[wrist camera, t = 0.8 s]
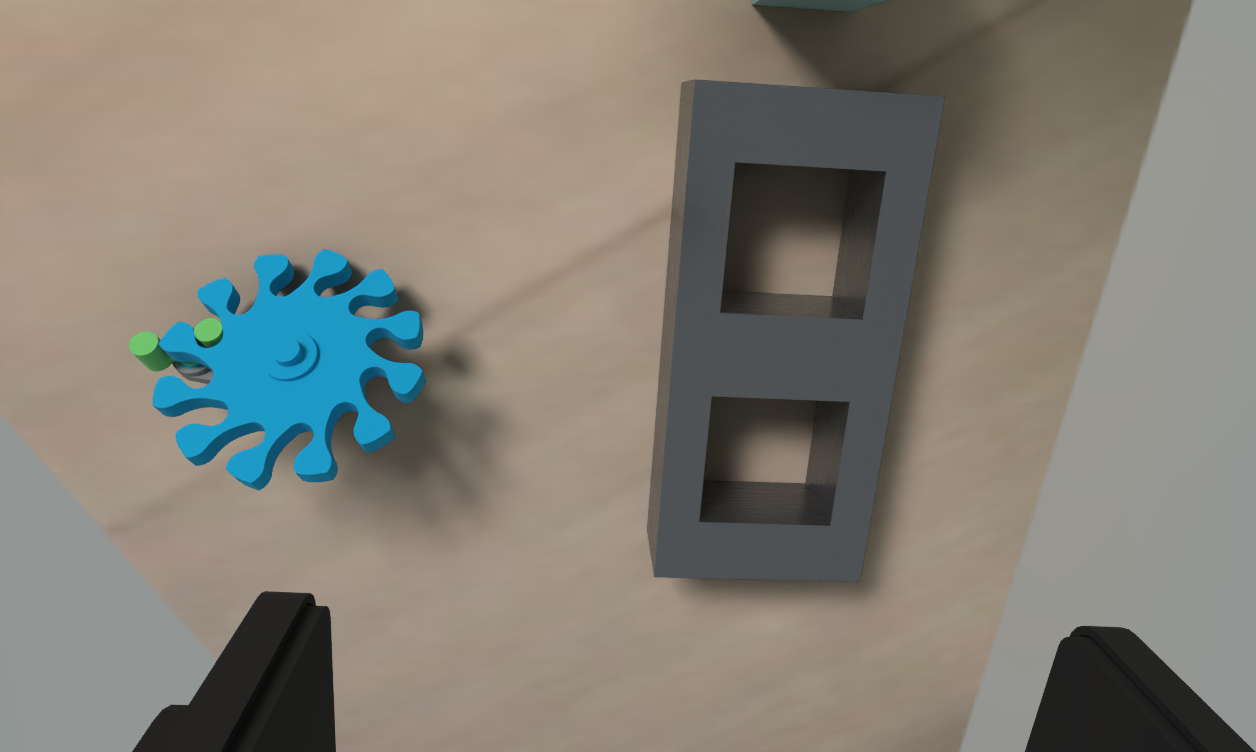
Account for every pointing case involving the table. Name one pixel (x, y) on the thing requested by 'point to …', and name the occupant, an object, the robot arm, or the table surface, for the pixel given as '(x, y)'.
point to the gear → (284, 367)
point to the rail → (785, 328)
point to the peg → (821, 4)
